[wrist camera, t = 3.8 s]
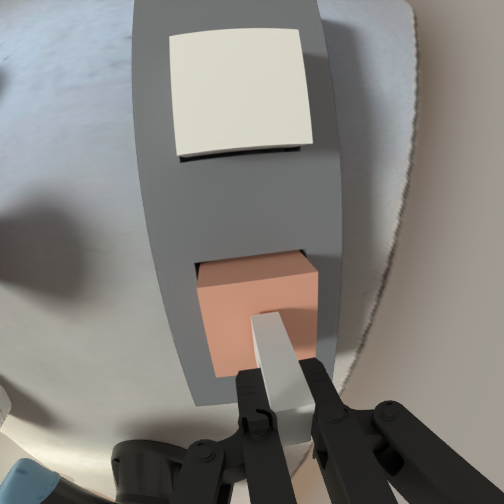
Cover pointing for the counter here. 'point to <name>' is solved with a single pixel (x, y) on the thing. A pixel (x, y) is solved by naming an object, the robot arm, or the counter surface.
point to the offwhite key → (238, 91)
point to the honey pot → (4, 405)
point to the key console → (234, 180)
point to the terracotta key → (256, 305)
